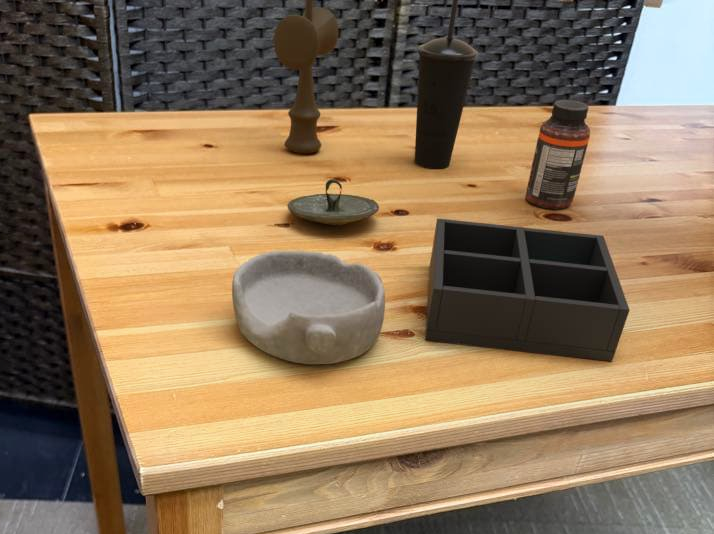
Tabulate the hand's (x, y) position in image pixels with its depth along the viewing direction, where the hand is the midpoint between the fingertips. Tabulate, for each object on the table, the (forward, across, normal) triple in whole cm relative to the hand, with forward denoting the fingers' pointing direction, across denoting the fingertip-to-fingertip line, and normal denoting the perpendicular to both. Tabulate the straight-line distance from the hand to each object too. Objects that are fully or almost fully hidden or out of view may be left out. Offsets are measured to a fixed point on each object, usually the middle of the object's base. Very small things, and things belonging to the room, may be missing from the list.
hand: (608, 3), depth 88 cm
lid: (+22, -28, -10) cm, 37 cm away
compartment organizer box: (+22, -10, -30) cm, 38 cm away
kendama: (+22, -33, +15) cm, 42 cm away
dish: (+22, -30, -37) cm, 52 cm away
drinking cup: (+22, -15, +13) cm, 29 cm away
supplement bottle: (+22, -1, +1) cm, 22 cm away
